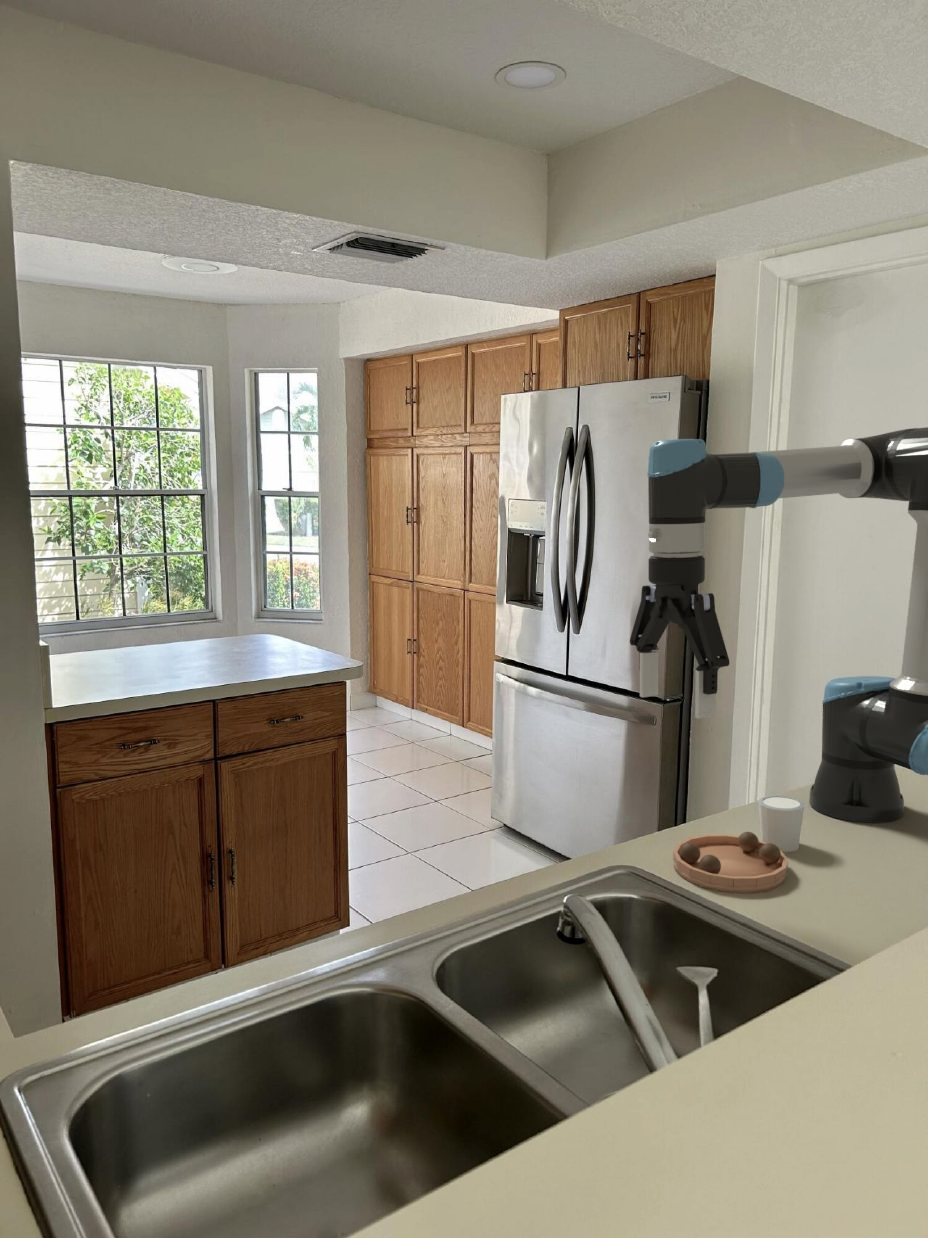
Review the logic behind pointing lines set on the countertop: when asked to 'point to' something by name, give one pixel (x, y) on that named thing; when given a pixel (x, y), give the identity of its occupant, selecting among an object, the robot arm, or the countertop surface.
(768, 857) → the bead
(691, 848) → the bead
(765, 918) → the countertop surface
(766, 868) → the tray
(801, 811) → the white cup
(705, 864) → the bead
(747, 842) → the bead
